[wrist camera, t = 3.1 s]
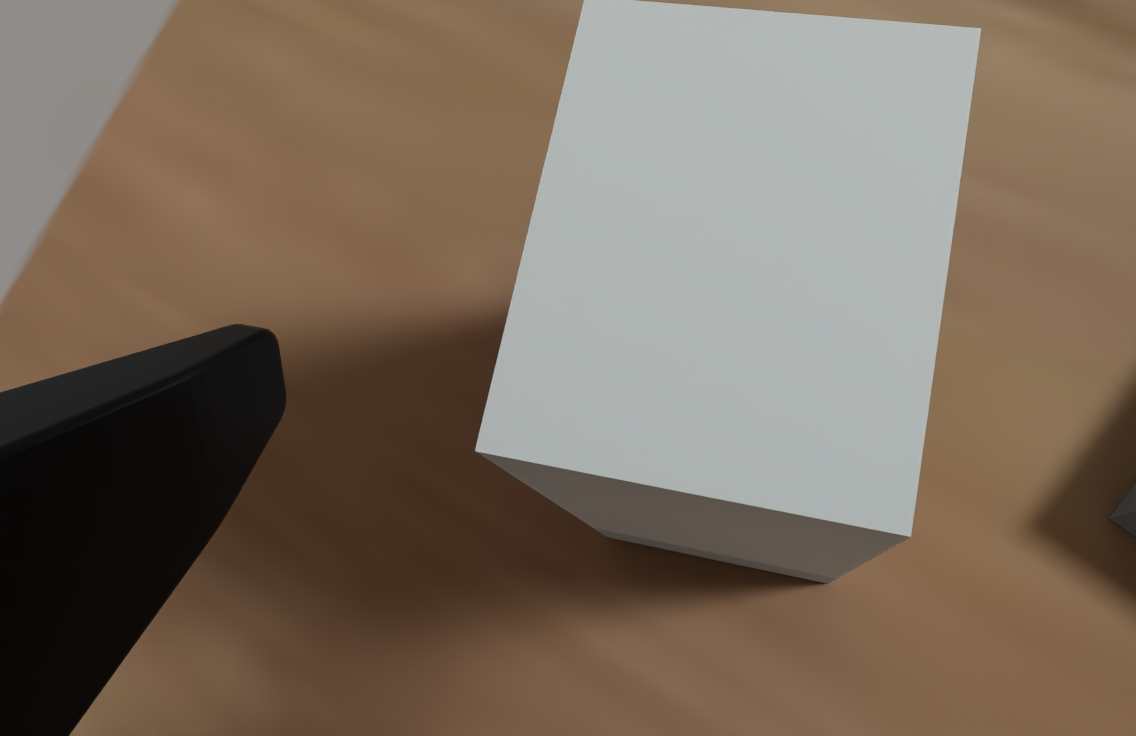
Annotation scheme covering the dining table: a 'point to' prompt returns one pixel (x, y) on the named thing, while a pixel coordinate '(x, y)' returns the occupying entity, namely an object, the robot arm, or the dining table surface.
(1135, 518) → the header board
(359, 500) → the dining table surface
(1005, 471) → the dining table surface
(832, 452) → the white rectangular block
